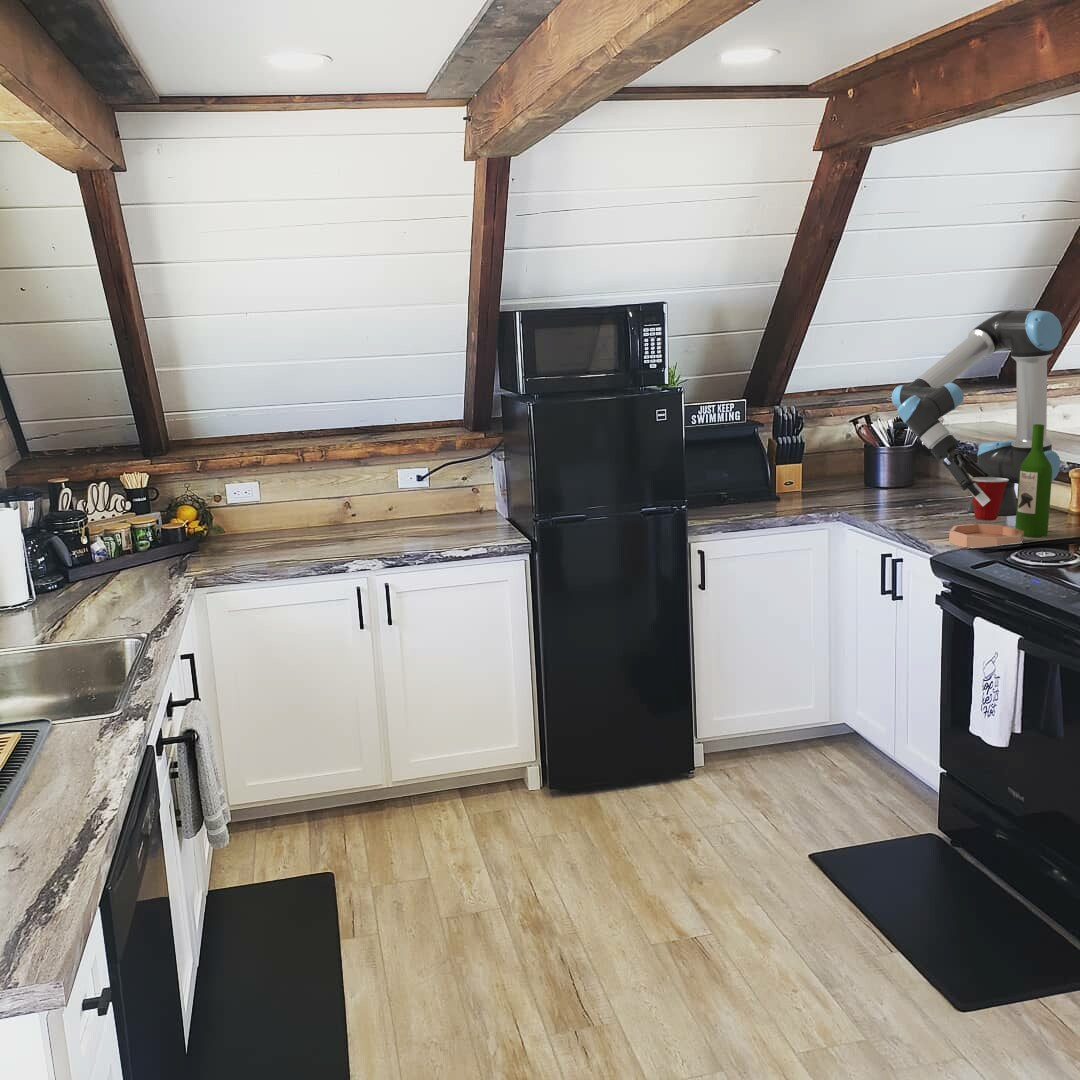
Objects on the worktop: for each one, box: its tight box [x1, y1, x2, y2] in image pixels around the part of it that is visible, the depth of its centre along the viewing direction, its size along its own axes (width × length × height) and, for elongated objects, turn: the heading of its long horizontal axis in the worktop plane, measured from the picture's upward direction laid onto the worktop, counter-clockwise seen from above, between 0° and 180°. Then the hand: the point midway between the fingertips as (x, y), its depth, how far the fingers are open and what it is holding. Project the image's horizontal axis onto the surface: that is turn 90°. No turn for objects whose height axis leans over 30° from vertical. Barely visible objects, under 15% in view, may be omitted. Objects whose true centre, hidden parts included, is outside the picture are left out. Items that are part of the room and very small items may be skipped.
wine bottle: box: [1014, 424, 1053, 538], centre depth 329 cm, size 9×9×32 cm
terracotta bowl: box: [948, 523, 1024, 548], centre depth 323 cm, size 19×19×4 cm
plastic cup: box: [970, 477, 1009, 522], centre depth 320 cm, size 11×11×12 cm
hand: (992, 500), depth 319 cm, fingers closed on plastic cup, 10 cm apart
